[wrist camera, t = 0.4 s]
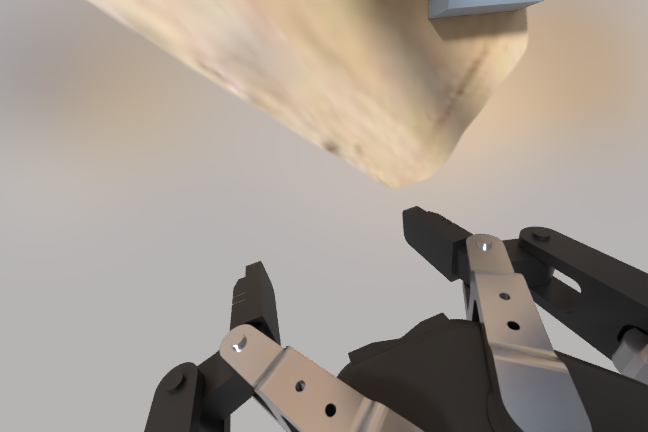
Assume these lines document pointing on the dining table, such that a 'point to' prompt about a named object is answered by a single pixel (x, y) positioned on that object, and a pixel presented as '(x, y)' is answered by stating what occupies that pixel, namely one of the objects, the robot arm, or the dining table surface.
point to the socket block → (474, 7)
